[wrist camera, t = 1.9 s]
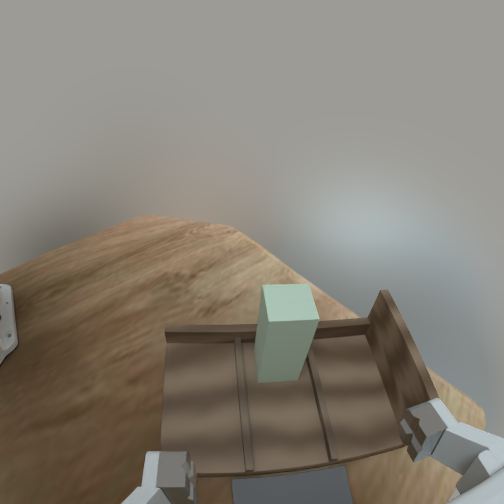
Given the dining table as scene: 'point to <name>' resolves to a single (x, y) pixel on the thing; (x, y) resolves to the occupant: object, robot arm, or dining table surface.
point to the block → (284, 331)
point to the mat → (295, 488)
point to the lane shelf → (291, 395)
